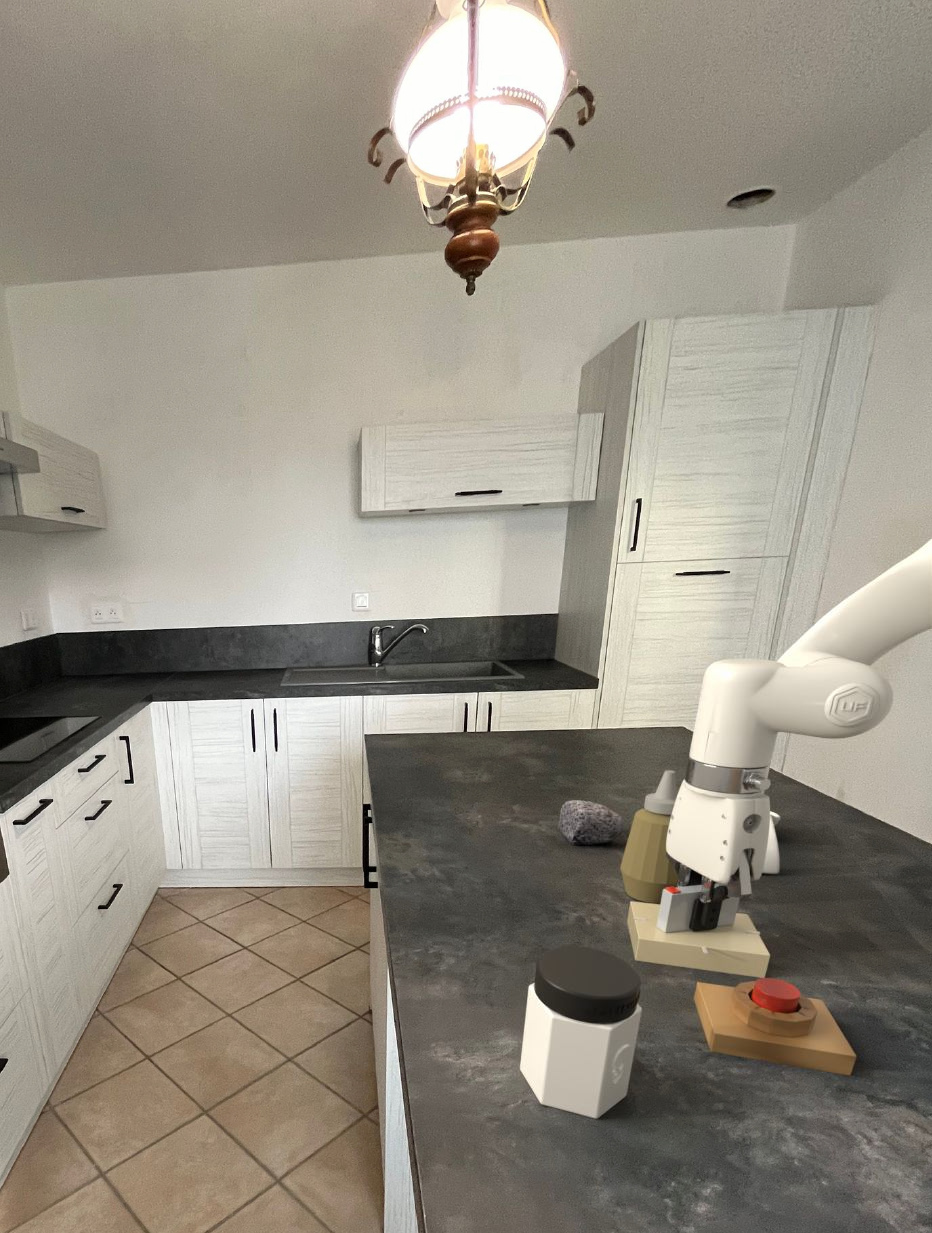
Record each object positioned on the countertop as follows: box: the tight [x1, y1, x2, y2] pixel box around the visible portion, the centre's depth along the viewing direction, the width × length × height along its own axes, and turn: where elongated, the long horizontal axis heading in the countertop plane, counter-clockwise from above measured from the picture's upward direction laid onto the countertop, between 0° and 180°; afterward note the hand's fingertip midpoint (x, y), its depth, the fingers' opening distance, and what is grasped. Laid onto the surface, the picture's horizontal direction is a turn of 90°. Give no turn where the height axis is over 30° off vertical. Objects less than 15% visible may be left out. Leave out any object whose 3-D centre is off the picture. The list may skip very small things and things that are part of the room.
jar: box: [519, 945, 643, 1120], centre depth 60 cm, size 9×8×12 cm
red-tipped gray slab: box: [657, 883, 741, 933], centre depth 80 cm, size 9×2×5 cm, turn 99°
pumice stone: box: [557, 799, 625, 846], centre depth 113 cm, size 10×8×10 cm
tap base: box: [626, 900, 771, 979], centre depth 82 cm, size 13×13×3 cm
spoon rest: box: [762, 810, 781, 875], centre depth 109 cm, size 24×12×7 cm, turn 160°
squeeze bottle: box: [619, 769, 678, 904], centre depth 92 cm, size 8×8×18 cm
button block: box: [693, 980, 857, 1076], centre depth 66 cm, size 11×9×4 cm
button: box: [751, 977, 802, 1014], centre depth 65 cm, size 4×4×2 cm
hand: (695, 923), depth 81 cm, fingers closed on red-tipped gray slab
